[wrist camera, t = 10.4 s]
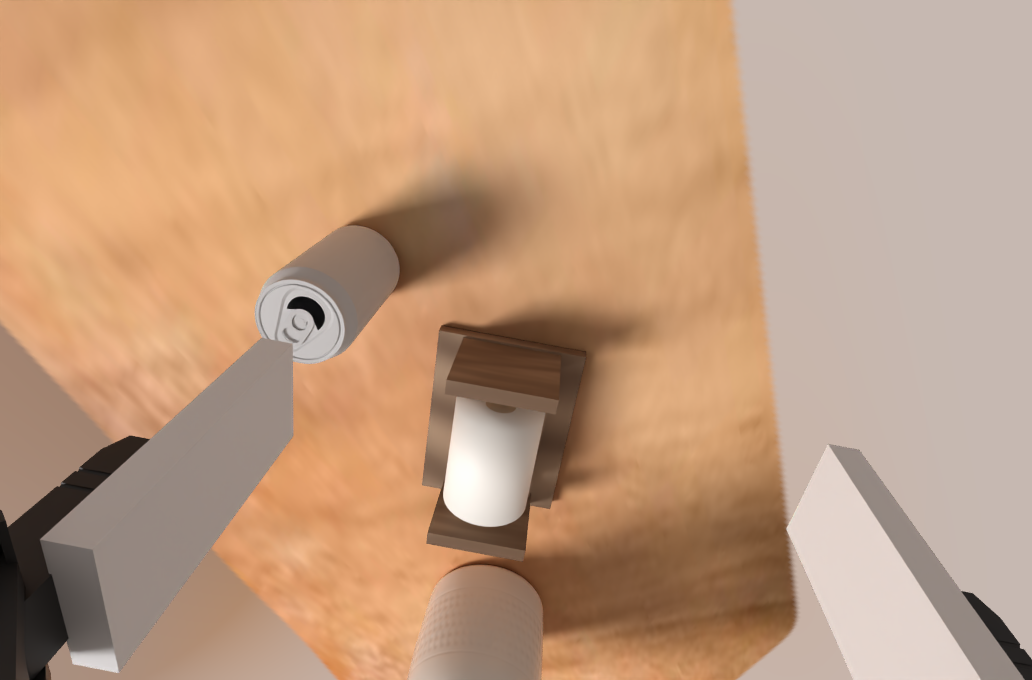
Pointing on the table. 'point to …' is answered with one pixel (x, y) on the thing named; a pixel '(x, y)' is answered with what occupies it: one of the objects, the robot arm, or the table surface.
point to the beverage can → (328, 293)
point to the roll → (491, 461)
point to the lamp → (480, 628)
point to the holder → (507, 381)
